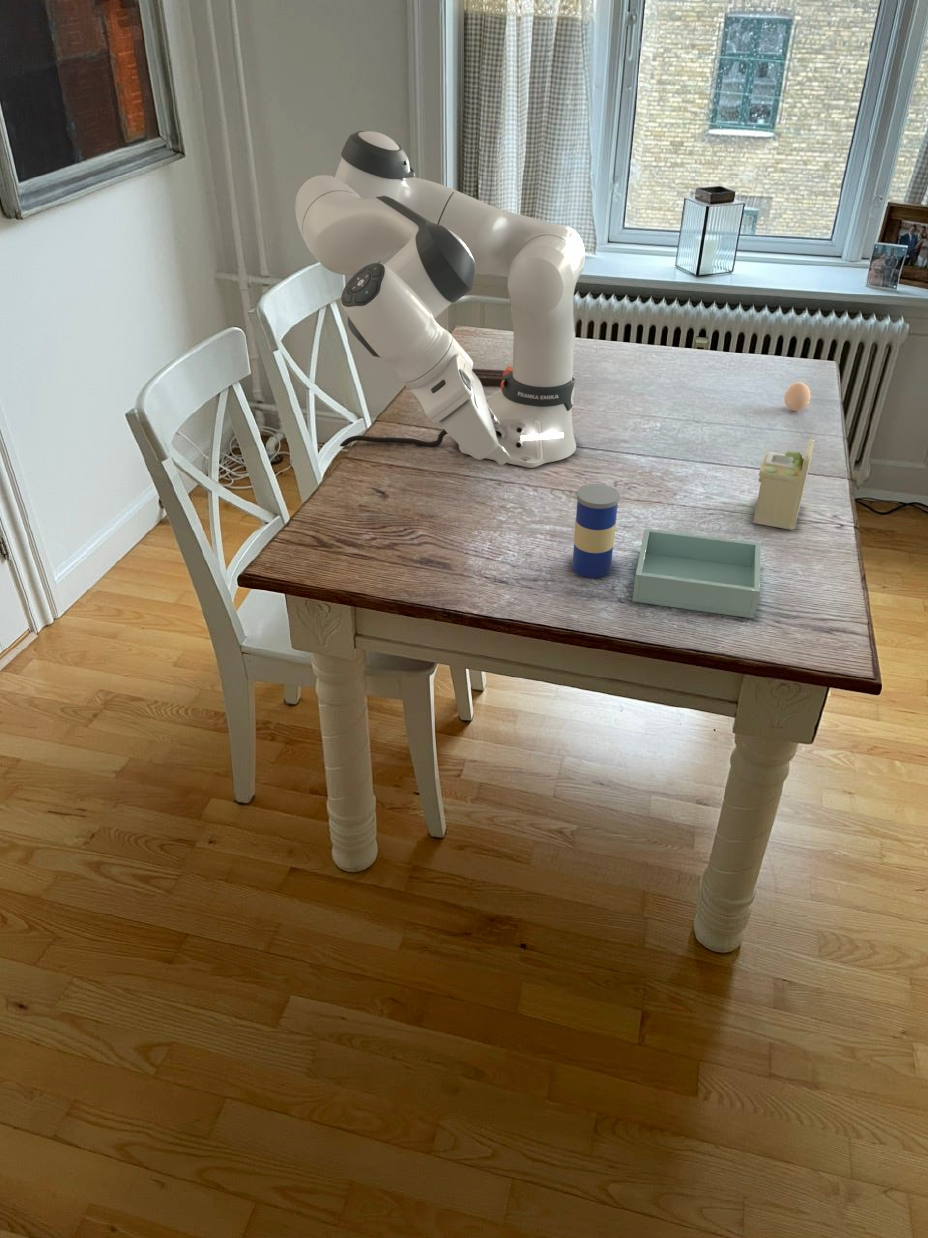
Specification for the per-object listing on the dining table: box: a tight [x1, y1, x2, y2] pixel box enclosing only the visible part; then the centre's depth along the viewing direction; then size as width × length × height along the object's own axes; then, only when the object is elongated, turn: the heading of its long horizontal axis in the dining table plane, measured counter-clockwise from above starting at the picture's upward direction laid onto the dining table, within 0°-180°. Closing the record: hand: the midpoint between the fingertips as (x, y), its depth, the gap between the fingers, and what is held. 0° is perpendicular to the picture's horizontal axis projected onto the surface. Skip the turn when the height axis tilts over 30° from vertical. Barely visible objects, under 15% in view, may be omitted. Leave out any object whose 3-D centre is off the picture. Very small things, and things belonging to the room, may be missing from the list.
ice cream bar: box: [472, 368, 505, 387], centre depth 212 cm, size 5×2×15 cm
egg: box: [783, 381, 811, 412], centre depth 197 cm, size 5×5×6 cm
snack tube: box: [571, 483, 621, 579], centre depth 147 cm, size 6×6×13 cm
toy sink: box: [753, 439, 816, 531], centre depth 160 cm, size 8×7×13 cm
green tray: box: [632, 528, 762, 619], centre depth 145 cm, size 18×14×5 cm
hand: (500, 443), depth 136 cm, fingers open, 8 cm apart
